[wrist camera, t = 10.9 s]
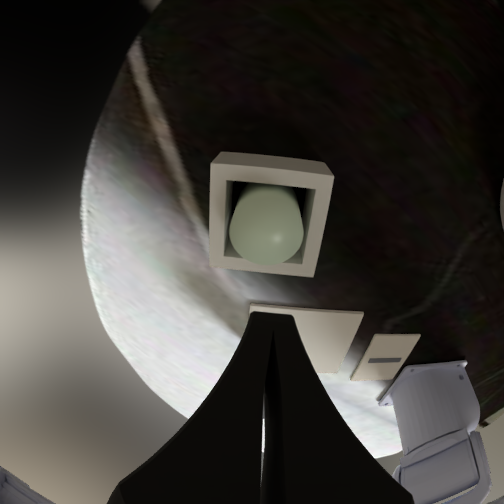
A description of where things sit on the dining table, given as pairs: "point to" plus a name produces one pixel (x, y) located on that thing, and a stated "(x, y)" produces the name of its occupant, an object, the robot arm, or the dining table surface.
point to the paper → (321, 332)
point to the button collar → (269, 172)
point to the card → (385, 356)
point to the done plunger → (266, 224)
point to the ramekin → (502, 204)
